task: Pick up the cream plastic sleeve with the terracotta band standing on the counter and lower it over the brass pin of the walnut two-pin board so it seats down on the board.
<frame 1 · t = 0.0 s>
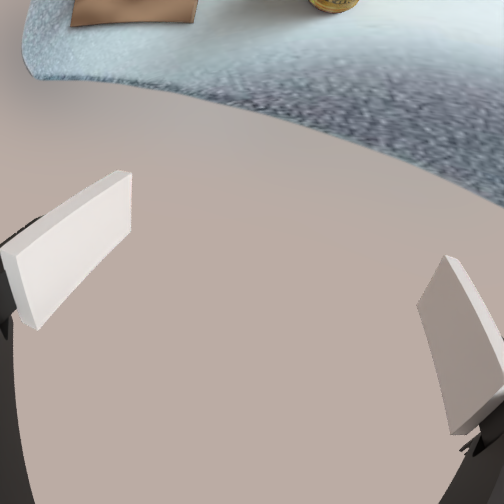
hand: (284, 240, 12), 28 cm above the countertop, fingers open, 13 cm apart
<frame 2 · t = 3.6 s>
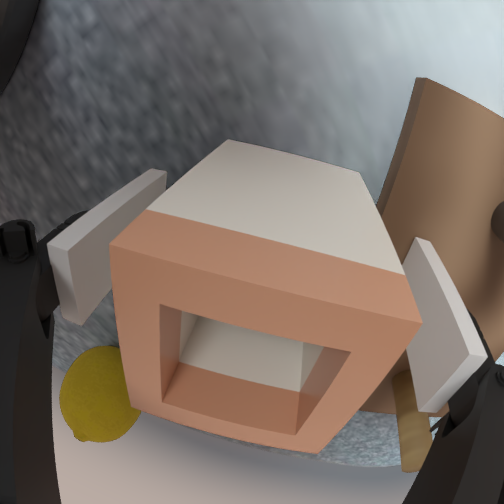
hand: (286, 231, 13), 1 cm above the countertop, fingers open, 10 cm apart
pin board: (447, 298, 15), on the countertop
sleeve: (279, 214, 14), on the countertop
lemon: (128, 349, 22), on the countertop
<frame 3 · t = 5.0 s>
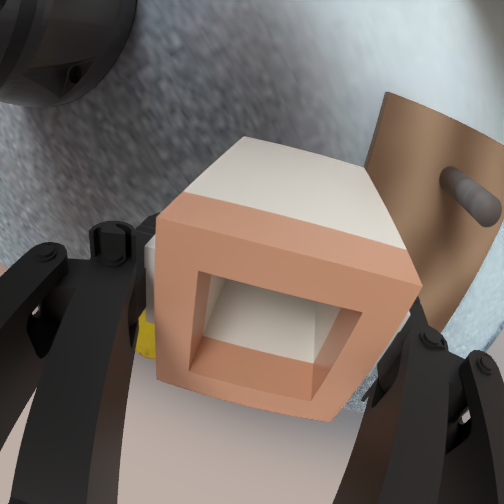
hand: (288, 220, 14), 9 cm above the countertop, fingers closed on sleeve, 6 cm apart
pin board: (418, 239, 22), on the countertop
sleeve: (290, 206, 15), point 7 cm above the countertop, touching gripper
lemon: (178, 290, 29), on the countertop
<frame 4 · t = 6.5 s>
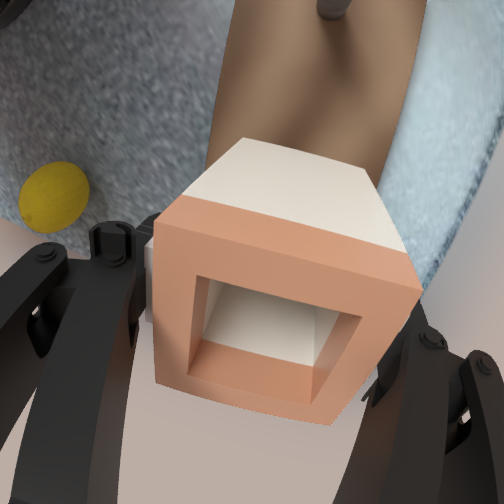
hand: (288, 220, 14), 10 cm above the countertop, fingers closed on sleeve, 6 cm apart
pin board: (312, 83, 19), on the countertop
sleeve: (290, 207, 15), point 8 cm above the countertop, touching gripper
lemon: (83, 178, 26), on the countertop
when the fingers open (3 cm above the countertop, at t = 8.1 s): sleeve stays where it is, resting on pin board.
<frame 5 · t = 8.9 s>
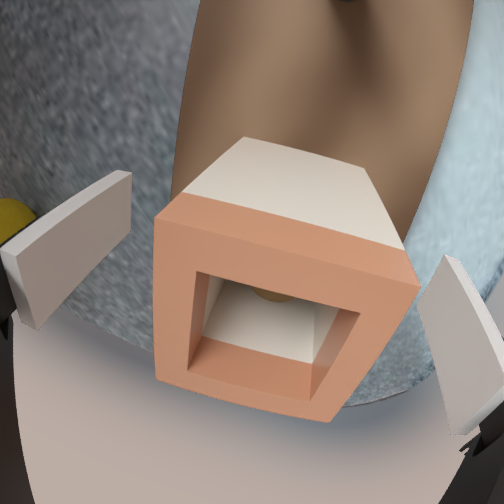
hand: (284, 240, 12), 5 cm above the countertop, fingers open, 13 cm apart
pin board: (318, 93, 13), on the countertop
sleeve: (290, 206, 15), point 1 cm above the countertop, touching pin board
lemon: (35, 215, 20), on the countertop
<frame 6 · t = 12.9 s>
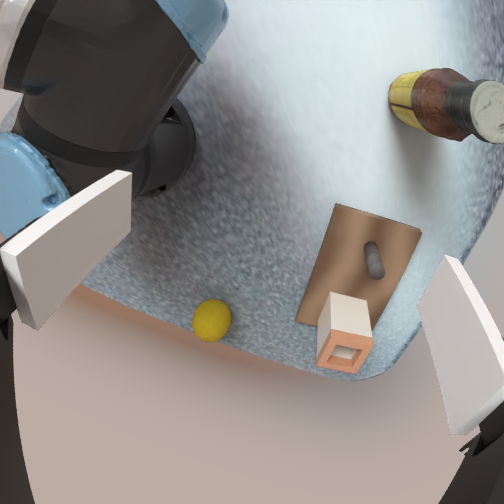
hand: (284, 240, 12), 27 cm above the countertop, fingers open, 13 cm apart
pin board: (355, 276, 43), on the countertop
sauce bottle: (409, 97, 30), on the countertop
sleeve: (341, 310, 45), point 1 cm above the countertop, touching pin board
lemon: (219, 302, 50), on the countertop
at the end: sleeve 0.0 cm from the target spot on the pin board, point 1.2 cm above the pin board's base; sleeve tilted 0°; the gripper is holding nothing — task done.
